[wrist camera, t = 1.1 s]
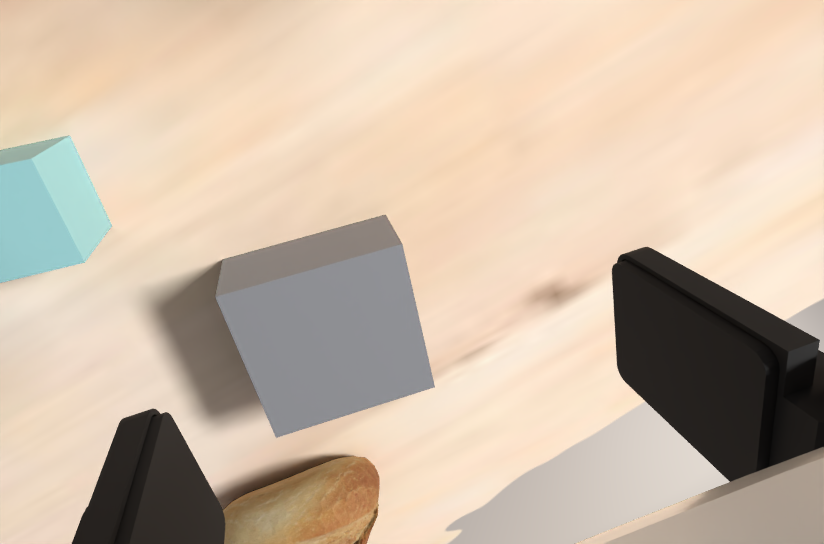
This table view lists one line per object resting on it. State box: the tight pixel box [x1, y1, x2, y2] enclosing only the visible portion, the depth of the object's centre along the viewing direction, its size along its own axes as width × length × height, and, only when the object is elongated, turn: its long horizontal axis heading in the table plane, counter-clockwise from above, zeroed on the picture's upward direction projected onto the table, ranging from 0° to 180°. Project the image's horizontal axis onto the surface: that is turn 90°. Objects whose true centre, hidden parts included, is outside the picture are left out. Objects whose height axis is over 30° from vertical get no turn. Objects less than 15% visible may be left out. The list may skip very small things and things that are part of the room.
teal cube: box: [0, 136, 112, 283], centre depth 31 cm, size 6×6×6 cm
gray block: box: [215, 215, 435, 438], centre depth 39 cm, size 12×12×6 cm
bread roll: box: [223, 456, 379, 544], centre depth 45 cm, size 10×15×8 cm, turn 113°
